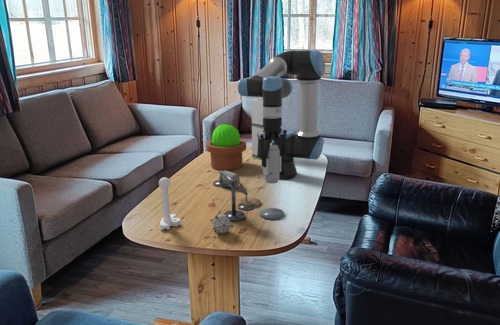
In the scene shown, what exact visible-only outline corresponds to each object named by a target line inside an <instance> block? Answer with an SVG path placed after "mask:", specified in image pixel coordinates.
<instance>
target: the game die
mask: <svg viewBox="0 0 500 325" xmlns="http://www.w3.org/2000/svg"><path fill="white" fill-rule="evenodd" d="M228 216H229V215H228ZM228 216H227V215H224V213H222V212H221V211H220V210H219V213H218V214H217V215H216V216H215V217H214V218H212V219H209V222H211V223H212V226H213V228H212V230H214V233H216V232H218V233H220V234H222V236H225V233H226V232H228V231H229V230H230V229H231V228H235V226H234V225H232V222H231V221H230V218H231V217H230V218H229V217H228Z"/></svg>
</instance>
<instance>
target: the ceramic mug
mask: <svg viewBox="0 0 500 325" xmlns="http://www.w3.org/2000/svg"><path fill="white" fill-rule="evenodd" d="M222 171H223V172H224V173H225V174H227V175H228V176H229V177H230V178H231V179H236V180H237V184H238V185H240V184H241V179H240V175H239V174H238V173H235V172H232V171H230V170H222ZM218 180H220V176H219V179H218ZM222 180H227V181H229V180H228V179H227V178H226V177H224V176H223V175H222ZM226 187H227V188H231V185H229V186H226ZM226 187H225V188H226ZM235 188H237V187H236V186H235Z"/></svg>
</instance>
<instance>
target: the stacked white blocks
mask: <svg viewBox="0 0 500 325" xmlns="http://www.w3.org/2000/svg"><path fill="white" fill-rule="evenodd" d="M263 117H264V116H263V97H258V98H252V99H251V151H252V153H251V156H252V158H253V159H256V160H257V159H258V160H260V161H262V159H261V158H258V157H257V154H258V137H257V134H258V133H259V134H261V133H262V132H263V130H264V127H263ZM264 137H265V136H264Z"/></svg>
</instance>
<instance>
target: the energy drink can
mask: <svg viewBox="0 0 500 325" xmlns="http://www.w3.org/2000/svg"><path fill="white" fill-rule="evenodd" d="M267 159H269V175H265V174H264V180H265V183H266V184H267V183H268V184H277V183H278V182H279V180H280V179H279V170H280V150H279V148H278V145H272V144H270V148H269V152H268V156H267Z"/></svg>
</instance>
